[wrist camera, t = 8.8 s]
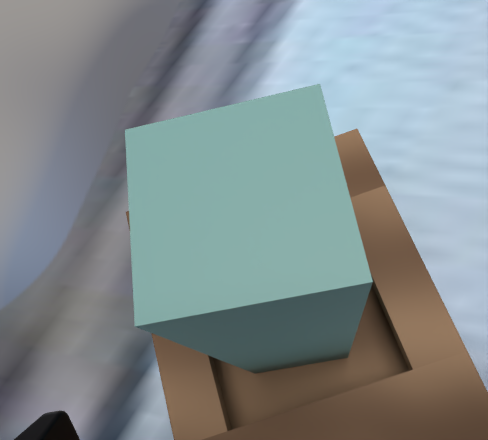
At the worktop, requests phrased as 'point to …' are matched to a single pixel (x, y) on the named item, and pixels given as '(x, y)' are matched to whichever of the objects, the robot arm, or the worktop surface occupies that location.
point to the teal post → (246, 233)
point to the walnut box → (358, 362)
